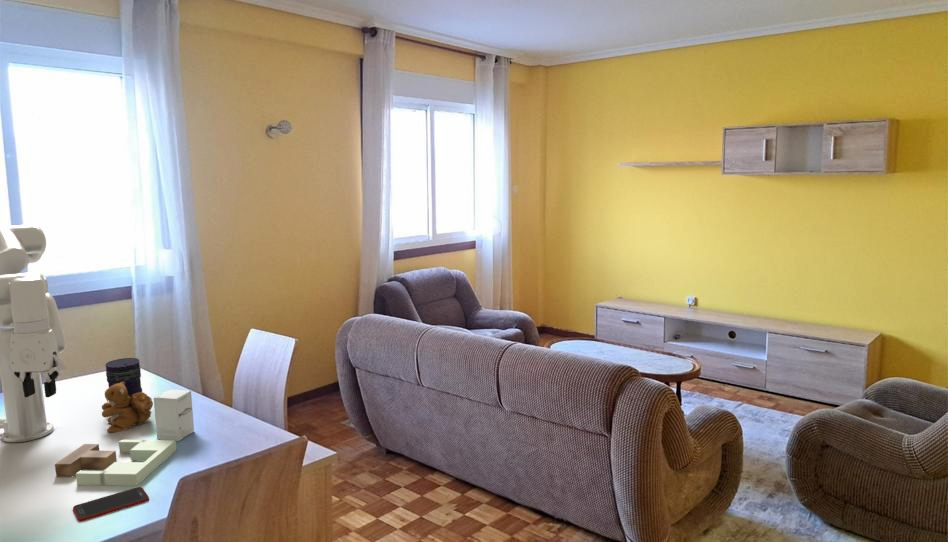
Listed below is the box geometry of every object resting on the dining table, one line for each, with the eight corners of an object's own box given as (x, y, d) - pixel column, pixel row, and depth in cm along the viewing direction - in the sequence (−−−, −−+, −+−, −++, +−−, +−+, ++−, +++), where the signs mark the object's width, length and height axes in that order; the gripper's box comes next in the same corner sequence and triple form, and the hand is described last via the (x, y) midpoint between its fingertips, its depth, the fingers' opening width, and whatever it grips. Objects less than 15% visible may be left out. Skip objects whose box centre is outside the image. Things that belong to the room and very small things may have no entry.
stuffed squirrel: (105, 422, 205) (101, 380, 203) (156, 415, 210) (153, 374, 208) (100, 434, 196) (96, 391, 194) (154, 427, 201) (150, 384, 199)
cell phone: (72, 510, 154) (71, 506, 154) (141, 489, 163) (141, 485, 163) (78, 524, 148) (78, 519, 148) (150, 501, 158) (150, 497, 157)
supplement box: (179, 441, 190) (175, 399, 188) (156, 439, 192) (152, 397, 190) (195, 431, 197) (191, 390, 195) (172, 429, 199) (169, 388, 197)
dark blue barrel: (106, 406, 218) (101, 362, 215) (138, 399, 224) (134, 355, 222) (114, 415, 211) (109, 369, 208) (148, 407, 217) (143, 362, 215)
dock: (77, 484, 165) (75, 473, 165) (122, 450, 185) (121, 439, 185) (136, 485, 165) (135, 474, 164) (176, 450, 184) (175, 440, 184)
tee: (56, 477, 170) (54, 464, 169) (85, 456, 182) (84, 444, 181) (98, 477, 169) (97, 464, 169) (125, 456, 181) (124, 444, 180)
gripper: (-12, 330, 166) (-3, 400, 169) (54, 330, 166) (63, 400, 169) (10, 322, 174) (18, 390, 177) (74, 322, 173) (81, 390, 176)
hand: (40, 394), depth 173 cm, fingers open, 4 cm apart
